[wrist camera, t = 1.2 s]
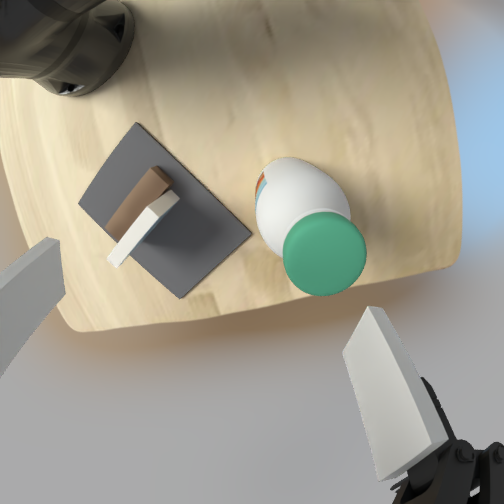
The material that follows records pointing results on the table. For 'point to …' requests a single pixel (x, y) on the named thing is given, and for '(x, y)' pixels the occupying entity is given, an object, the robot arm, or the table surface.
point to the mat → (174, 222)
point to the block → (138, 201)
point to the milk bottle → (309, 226)
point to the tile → (142, 227)
